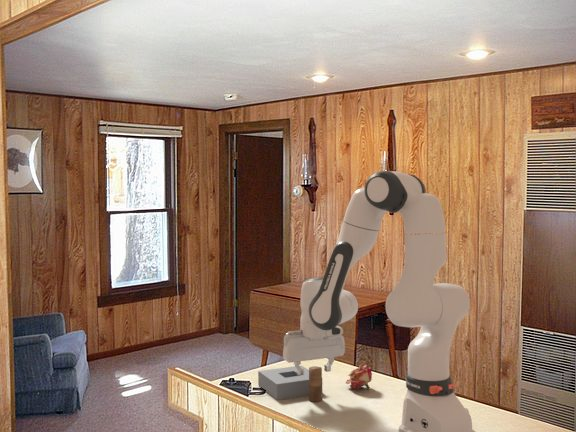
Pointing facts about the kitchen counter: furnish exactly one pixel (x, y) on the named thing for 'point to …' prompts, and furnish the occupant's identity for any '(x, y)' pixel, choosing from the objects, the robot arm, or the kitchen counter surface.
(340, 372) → the kitchen counter surface
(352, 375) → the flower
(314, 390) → the peg
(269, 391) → the socket block
